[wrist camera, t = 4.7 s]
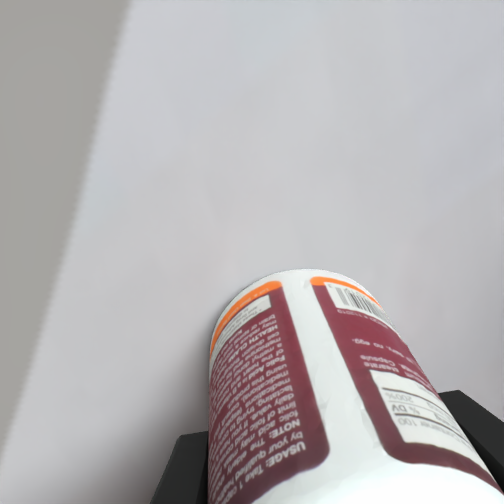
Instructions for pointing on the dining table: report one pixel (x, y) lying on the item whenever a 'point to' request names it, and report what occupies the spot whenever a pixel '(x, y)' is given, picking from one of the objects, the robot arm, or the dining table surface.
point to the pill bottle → (328, 404)
